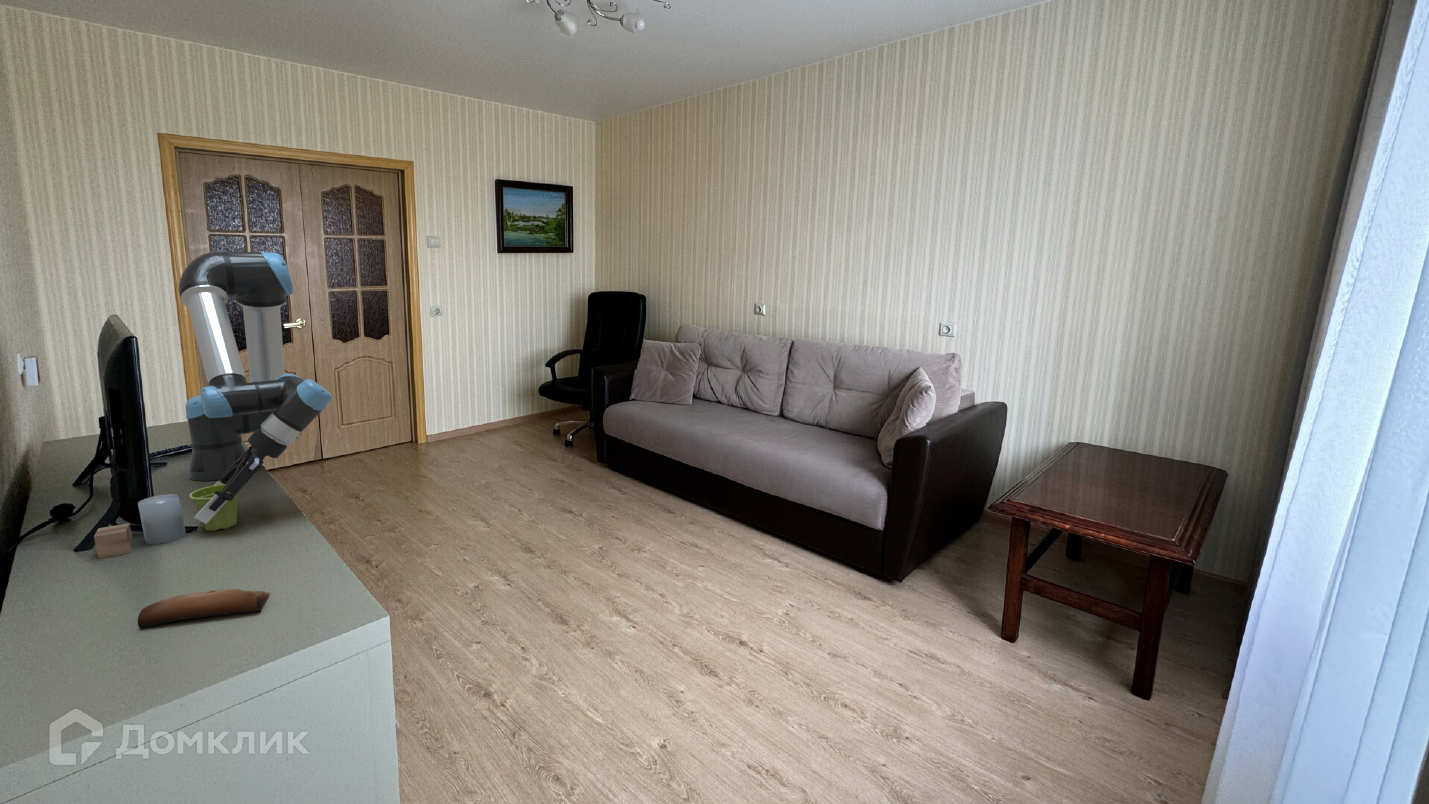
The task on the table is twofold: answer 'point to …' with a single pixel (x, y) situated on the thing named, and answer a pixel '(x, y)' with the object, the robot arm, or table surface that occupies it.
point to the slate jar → (161, 518)
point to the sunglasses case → (202, 605)
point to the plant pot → (225, 515)
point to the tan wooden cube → (113, 540)
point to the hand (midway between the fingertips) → (201, 513)
